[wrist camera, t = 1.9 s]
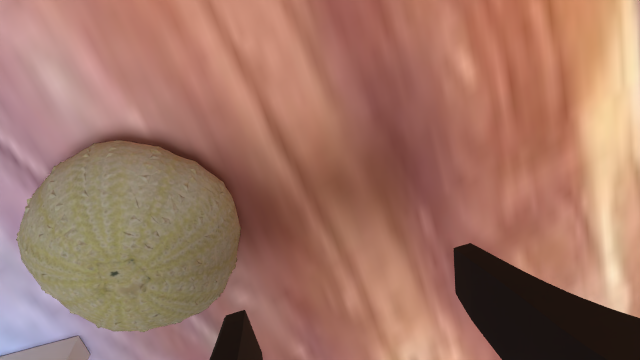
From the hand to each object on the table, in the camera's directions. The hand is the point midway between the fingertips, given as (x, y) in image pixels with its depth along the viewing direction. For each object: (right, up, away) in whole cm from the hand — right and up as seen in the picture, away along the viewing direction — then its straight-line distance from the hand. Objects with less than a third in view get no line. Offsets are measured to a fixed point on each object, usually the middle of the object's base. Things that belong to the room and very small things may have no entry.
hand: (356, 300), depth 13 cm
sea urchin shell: (-10, +2, +7) cm, 12 cm away
